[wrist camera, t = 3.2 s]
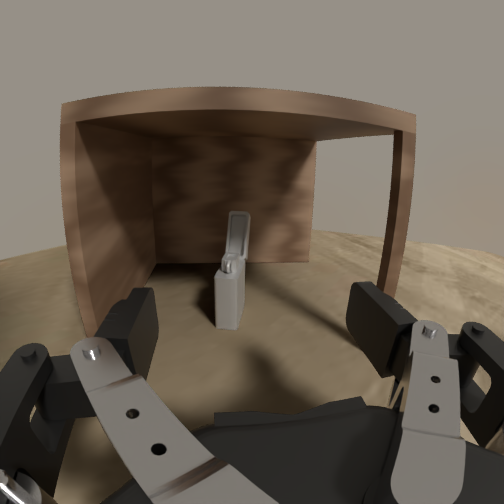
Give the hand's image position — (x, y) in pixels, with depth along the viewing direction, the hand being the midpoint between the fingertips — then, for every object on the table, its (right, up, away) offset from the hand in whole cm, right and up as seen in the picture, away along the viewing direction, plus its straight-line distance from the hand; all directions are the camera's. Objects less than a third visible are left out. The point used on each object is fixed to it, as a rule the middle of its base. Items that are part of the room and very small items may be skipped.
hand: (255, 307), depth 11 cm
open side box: (-2, -2, +16) cm, 16 cm away
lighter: (-2, -3, +14) cm, 14 cm away
